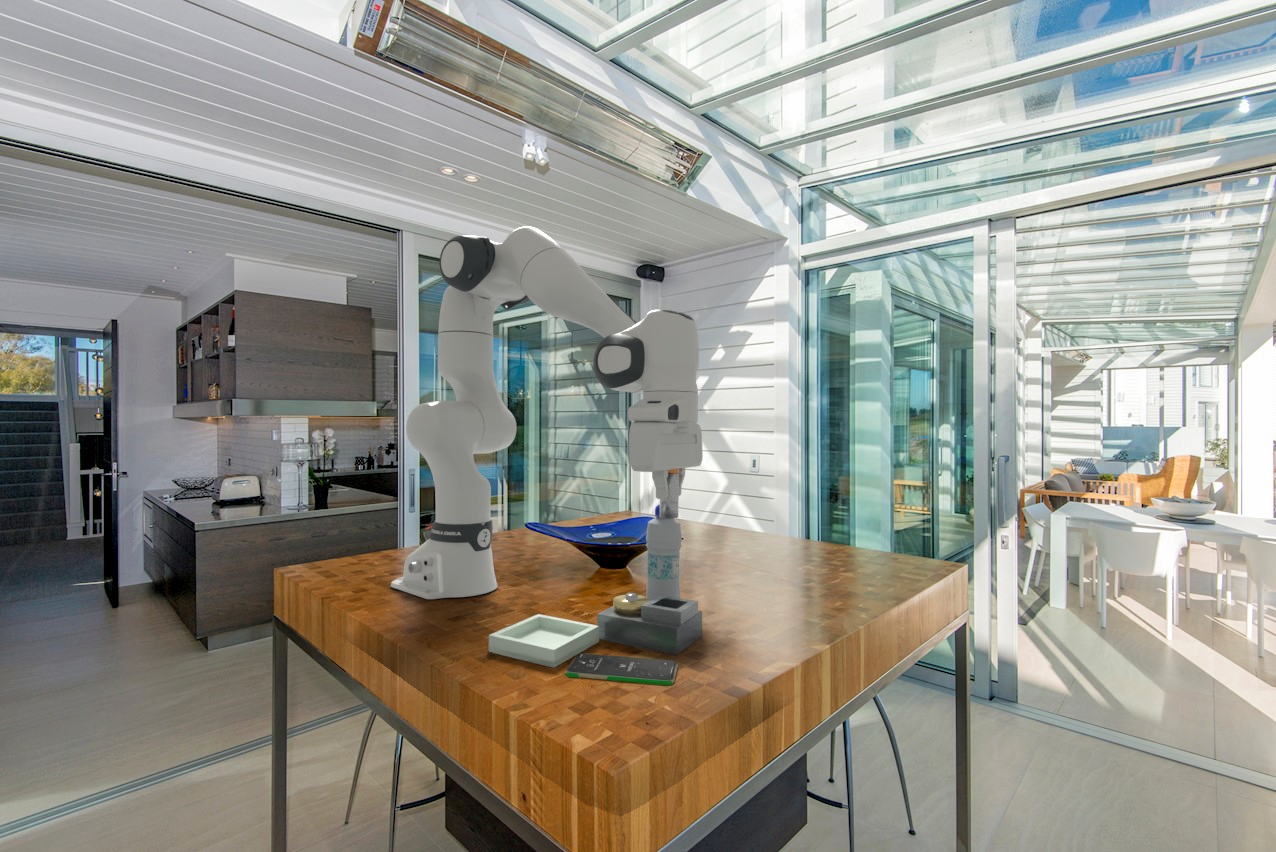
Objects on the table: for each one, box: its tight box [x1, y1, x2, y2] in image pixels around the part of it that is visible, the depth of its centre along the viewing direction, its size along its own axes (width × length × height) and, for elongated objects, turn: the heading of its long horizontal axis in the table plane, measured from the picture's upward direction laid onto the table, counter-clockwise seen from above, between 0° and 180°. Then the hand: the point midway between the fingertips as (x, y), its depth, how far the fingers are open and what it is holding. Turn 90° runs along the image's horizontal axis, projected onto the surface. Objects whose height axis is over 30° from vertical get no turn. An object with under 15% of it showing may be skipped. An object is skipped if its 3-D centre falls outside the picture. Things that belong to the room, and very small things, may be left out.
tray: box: [488, 613, 600, 669], centre depth 92 cm, size 12×12×2 cm
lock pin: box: [659, 468, 680, 519], centre depth 96 cm, size 3×3×8 cm
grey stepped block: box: [596, 592, 703, 656], centre depth 97 cm, size 14×10×6 cm
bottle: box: [645, 504, 683, 601], centre depth 110 cm, size 7×7×20 cm
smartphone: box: [564, 652, 679, 686], centre depth 84 cm, size 8×1×15 cm
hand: (668, 497), depth 96 cm, fingers closed on lock pin, 3 cm apart
